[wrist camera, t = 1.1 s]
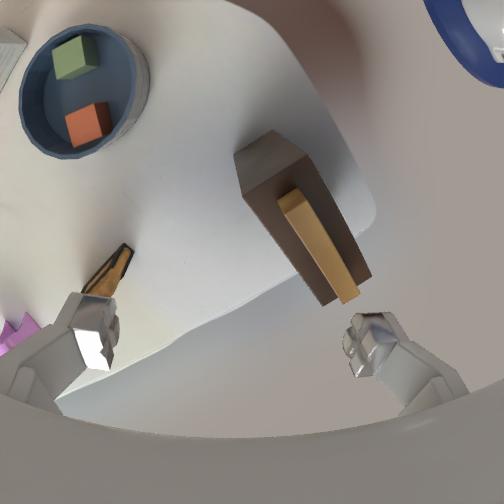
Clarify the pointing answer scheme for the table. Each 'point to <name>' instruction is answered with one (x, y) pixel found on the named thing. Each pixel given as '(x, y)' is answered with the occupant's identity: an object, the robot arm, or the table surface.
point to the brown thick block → (272, 217)
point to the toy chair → (17, 334)
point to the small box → (9, 53)
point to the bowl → (82, 91)
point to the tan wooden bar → (318, 244)
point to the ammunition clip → (110, 273)
